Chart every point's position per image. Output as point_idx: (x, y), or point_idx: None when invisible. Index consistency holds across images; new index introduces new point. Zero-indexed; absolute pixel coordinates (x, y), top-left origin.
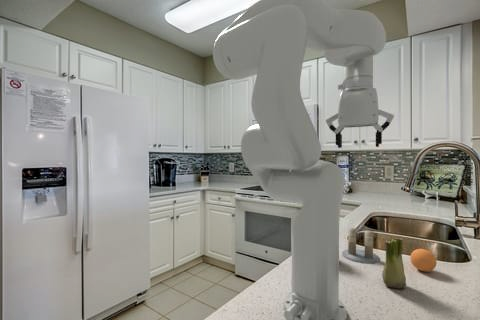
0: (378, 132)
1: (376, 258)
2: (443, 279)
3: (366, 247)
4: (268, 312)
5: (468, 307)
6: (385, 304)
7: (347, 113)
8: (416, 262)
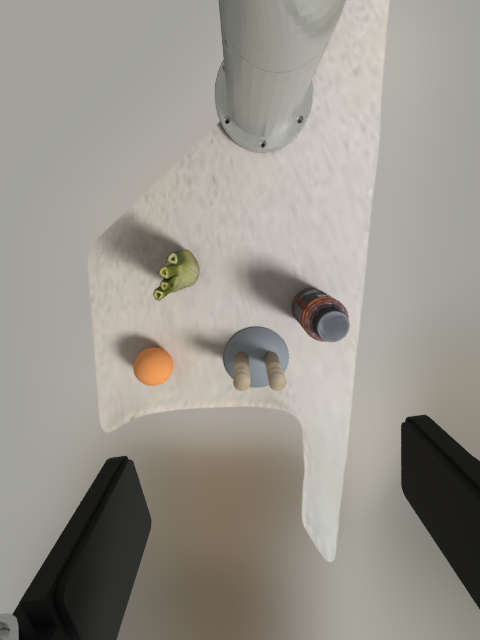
0: (27, 591)
1: (229, 361)
2: (130, 342)
3: (244, 361)
4: None
5: (95, 267)
6: (182, 196)
7: None
8: (161, 350)
